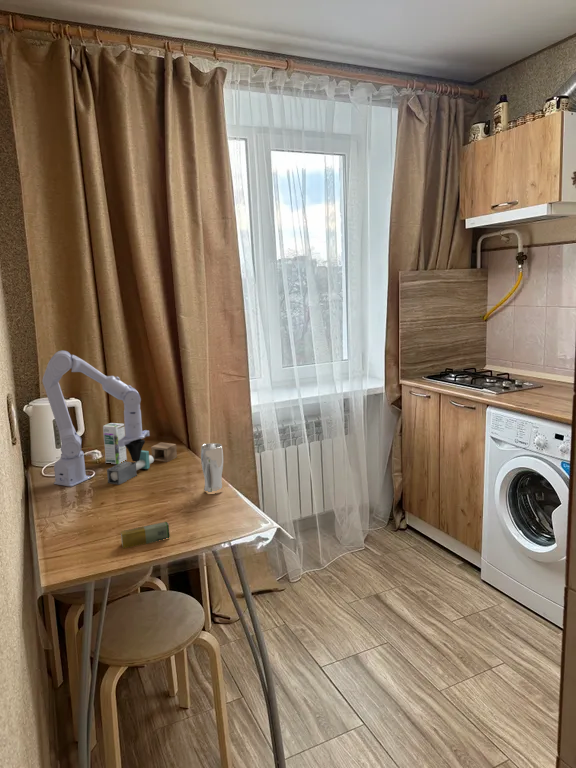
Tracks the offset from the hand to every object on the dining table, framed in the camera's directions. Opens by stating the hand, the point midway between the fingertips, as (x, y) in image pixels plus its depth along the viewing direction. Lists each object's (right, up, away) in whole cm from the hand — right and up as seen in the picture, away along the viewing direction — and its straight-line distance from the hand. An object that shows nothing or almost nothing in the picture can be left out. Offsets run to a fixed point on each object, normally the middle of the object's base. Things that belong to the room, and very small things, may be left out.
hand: (135, 460), depth 193 cm
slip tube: (-1, -4, -1) cm, 4 cm away
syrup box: (-11, -2, +13) cm, 17 cm away
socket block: (+7, -1, +16) cm, 17 cm away
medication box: (+17, -14, -52) cm, 56 cm away
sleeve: (-3, -6, -6) cm, 9 cm away
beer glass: (+30, -7, -18) cm, 36 cm away
